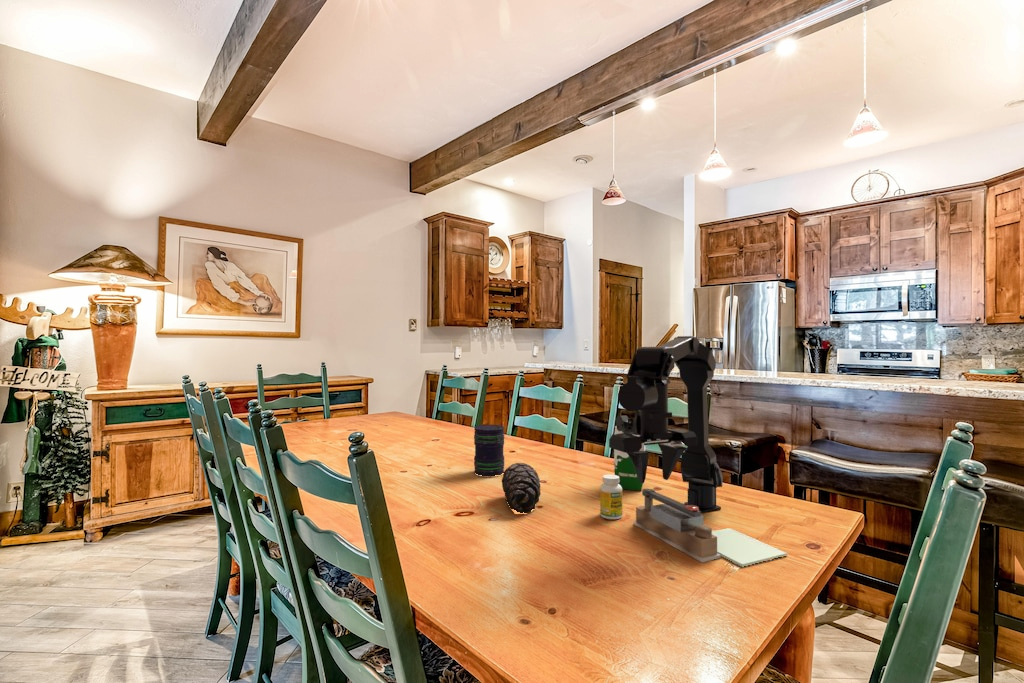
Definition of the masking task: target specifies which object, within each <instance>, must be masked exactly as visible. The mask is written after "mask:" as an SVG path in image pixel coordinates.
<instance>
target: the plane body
mask: <svg viewBox="0 0 1024 683" xmlns="http://www.w3.org/2000/svg"><path fill="white" fill-rule="evenodd" d="M653 502H654V499H653V498H651V497H646V496H644V505H642V506H641V505H640V506H636V507H635V521H633V523H632V524H633V525H634V526H635V527H638V528H639V529H641V530H643V531H645V532H646V533H648V534H650V535H652V536H654V537H655V538H657V539H659V540H661V541H662V542H665V543H666V544H668V545H670V546H671V547H673V548H675V549H677V550H679V551H680V552H683V553H684V554H686V555H688V556H690V557H691V558H693V559H695V560H697V561H698V562H700V563H706V562H710V561H715V560H718V559H721V558H722V557H721V555H720V554H718V553H717V537H716V536H714V535H712V531H713V529H712V527H711V526H709V525H705V524H704V525H697V526H695V530H690V531H685V532H679V531H677V530H675V529H673V528H671V527H669V526H667V525H665V524H663V523H661V522H659V521H657V520H655V519H653V518H651V506H653V505H654V503H653ZM714 559H715V560H714Z"/></svg>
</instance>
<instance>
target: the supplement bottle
mask: <svg viewBox="0 0 1024 683" xmlns="http://www.w3.org/2000/svg"><path fill="white" fill-rule="evenodd" d="M618 483H619V476H617V475H615V474H603V475H602V483H601V485H600V486H599V500H600V501H599V504H600V506H599V508H600V510H599V512H600V513H599V514H600V516H601V517H602V518H604V519H606V520H619V519H622V517H623V489H622V487H621V486H620V485H619V484H618Z"/></svg>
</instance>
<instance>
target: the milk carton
mask: <svg viewBox="0 0 1024 683" xmlns="http://www.w3.org/2000/svg"><path fill="white" fill-rule="evenodd" d="M621 433H624V431H618V430H617V427H616V426H614V434H621ZM631 435H634V434H631ZM634 436H638V437H639V436H640V435H634ZM613 451H614V452H613V456H614V457H613V458H614V461H613V462H614V464H613V467H614V475H617V476H619V483H618V484H619V485H620V486H621V487H622V490H625V489H629V490H628V491H635V490H638V491H639V492H642V490H643V485H644V483H640V482H639V479H638V476H637V473H636V471H635V468H634V465H633V463H632V460H631V458H630V456H629V455H628V454H627V453H625V452H621V451H618V450H615V449H613ZM644 451H646V445H644ZM638 491H637V492H638Z"/></svg>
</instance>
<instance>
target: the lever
mask: <svg viewBox="0 0 1024 683" xmlns="http://www.w3.org/2000/svg"><path fill="white" fill-rule="evenodd" d="M641 492H642V493H641V494H642V496H643V497H645V496H646V497H651V498H653V500H655V501H658V502H660V503H661V504H666V505H668V506H671V507H673V508H675V509H677V510H679V511H682V512H684V513H686V514H688V515H691V516H693V517H699V516H701V515H702V512H701V511H699V508H698V506H695V505H685V504H684V503H683V502H680V501H678V500H675V499H673V498H670V497H668V496H666V495H664V494H662V493H660V492H656V490H655V489H652V488H642V490H641Z"/></svg>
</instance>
